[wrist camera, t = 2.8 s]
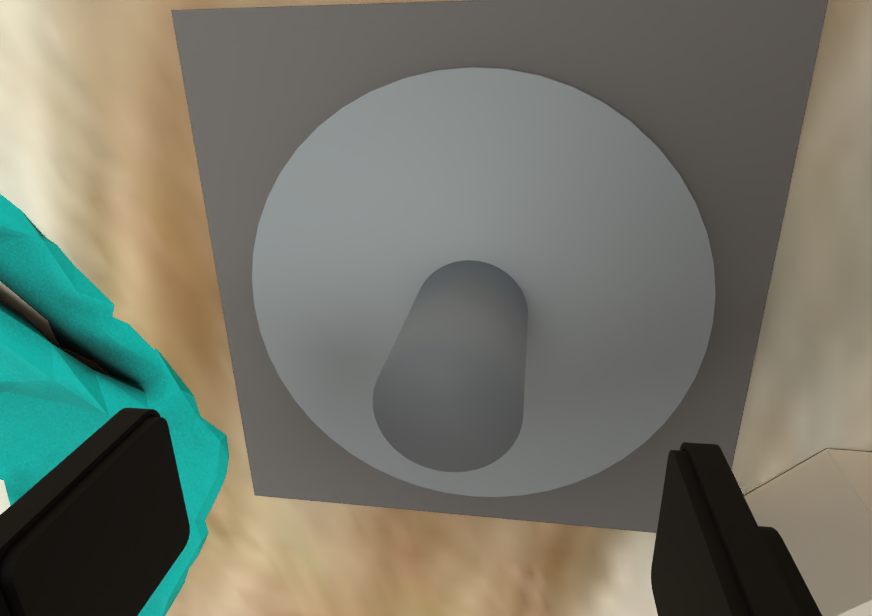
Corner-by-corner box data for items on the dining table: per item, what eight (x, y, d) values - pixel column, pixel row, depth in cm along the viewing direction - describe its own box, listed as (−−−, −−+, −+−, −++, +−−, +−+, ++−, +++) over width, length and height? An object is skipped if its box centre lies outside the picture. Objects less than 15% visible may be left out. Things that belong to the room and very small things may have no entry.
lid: (746, 60, 15) (859, 74, 9) (675, 496, 20) (724, 661, 15) (232, 71, 17) (90, 88, 11) (290, 465, 22) (210, 601, 17)
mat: (822, -10, 14) (830, -12, 14) (713, 529, 21) (717, 538, 20) (179, 10, 17) (171, 9, 16) (259, 488, 23) (254, 495, 23)
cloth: (257, 677, 29) (235, 727, 27) (-12, 621, 30) (-53, 664, 28) (216, 78, 18) (174, 84, 16) (-195, 41, 20) (-282, 41, 18)
